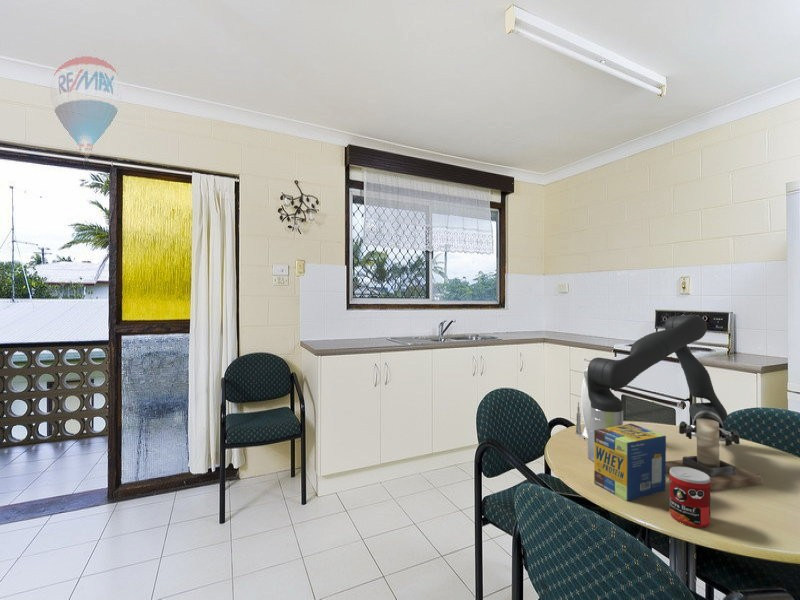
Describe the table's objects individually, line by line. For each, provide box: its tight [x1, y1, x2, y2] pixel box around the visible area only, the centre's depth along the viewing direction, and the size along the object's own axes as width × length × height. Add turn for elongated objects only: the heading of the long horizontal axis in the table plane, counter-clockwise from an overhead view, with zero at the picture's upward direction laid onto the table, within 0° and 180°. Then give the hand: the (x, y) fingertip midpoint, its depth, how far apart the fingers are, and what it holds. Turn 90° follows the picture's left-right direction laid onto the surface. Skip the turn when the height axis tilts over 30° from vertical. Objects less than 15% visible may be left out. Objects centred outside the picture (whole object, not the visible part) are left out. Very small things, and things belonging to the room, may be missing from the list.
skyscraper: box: [575, 367, 591, 441], centre depth 144 cm, size 8×8×28 cm
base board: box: [666, 455, 763, 491], centre depth 112 cm, size 20×14×4 cm
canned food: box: [668, 467, 712, 529], centre depth 90 cm, size 8×8×11 cm
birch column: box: [696, 419, 720, 468], centre depth 112 cm, size 5×5×14 cm
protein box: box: [593, 423, 667, 502], centre depth 106 cm, size 10×15×16 cm
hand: (708, 439), depth 111 cm, fingers open, 8 cm apart
